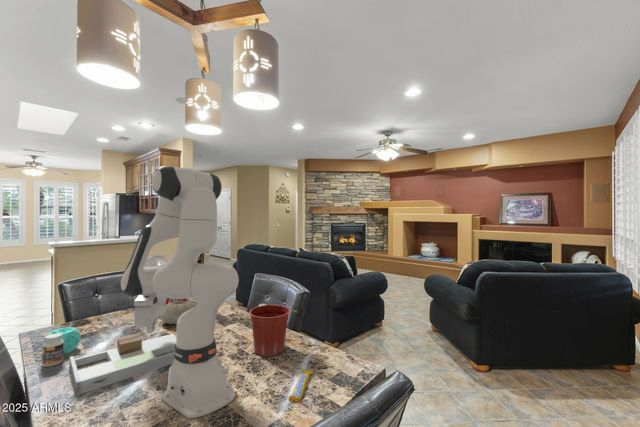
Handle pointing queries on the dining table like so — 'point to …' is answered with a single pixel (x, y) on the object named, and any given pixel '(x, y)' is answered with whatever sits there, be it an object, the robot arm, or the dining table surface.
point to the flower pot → (269, 329)
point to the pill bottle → (53, 350)
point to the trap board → (121, 364)
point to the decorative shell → (176, 311)
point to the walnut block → (129, 344)
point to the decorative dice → (68, 338)
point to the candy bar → (300, 385)
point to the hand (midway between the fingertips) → (150, 331)
